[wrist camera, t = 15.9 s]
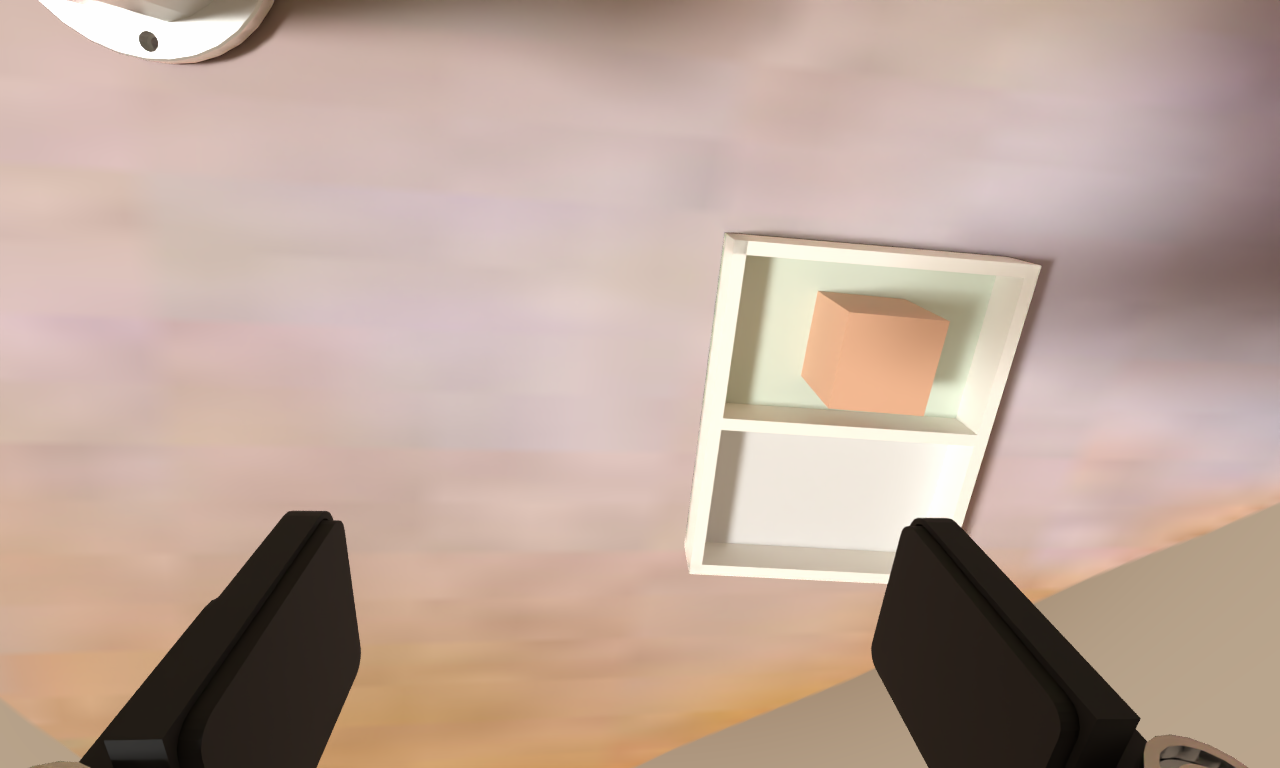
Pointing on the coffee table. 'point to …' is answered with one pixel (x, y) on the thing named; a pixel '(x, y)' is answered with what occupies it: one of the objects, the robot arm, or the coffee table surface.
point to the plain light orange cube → (873, 353)
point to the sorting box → (840, 439)
